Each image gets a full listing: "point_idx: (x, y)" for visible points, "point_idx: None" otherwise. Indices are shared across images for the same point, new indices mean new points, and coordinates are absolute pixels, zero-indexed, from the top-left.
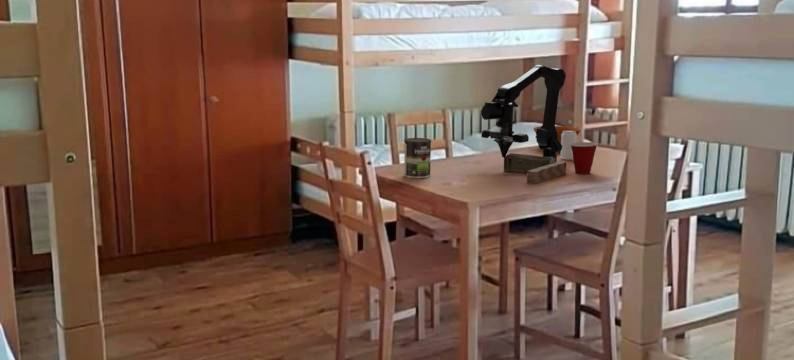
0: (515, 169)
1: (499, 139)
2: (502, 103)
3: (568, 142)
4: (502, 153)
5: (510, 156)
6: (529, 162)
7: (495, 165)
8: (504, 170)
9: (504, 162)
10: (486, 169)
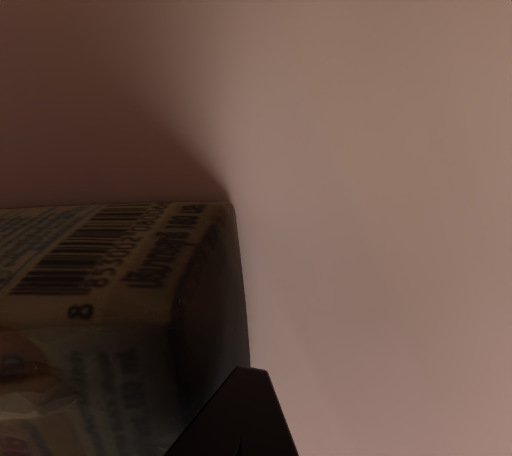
0: (44, 209)
1: None
2: None
3: None
4: (253, 424)
5: (42, 348)
6: None
7: (451, 443)
8: (221, 204)
9: (194, 248)
10: (501, 188)
